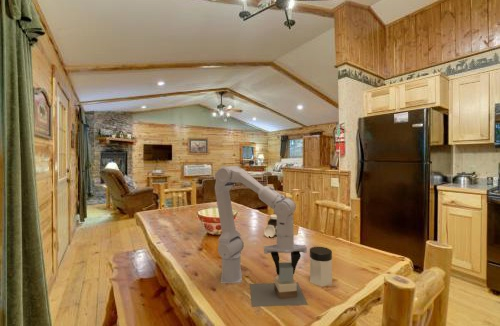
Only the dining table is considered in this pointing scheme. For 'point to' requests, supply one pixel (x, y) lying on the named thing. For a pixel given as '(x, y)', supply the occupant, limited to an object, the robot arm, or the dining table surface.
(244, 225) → the dining table surface
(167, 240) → the dining table surface
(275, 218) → the spread jar
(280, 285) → the cream slab
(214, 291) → the dining table surface
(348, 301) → the dining table surface
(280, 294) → the walnut slab
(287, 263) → the gray cube
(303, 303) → the felt mat
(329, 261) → the jar
